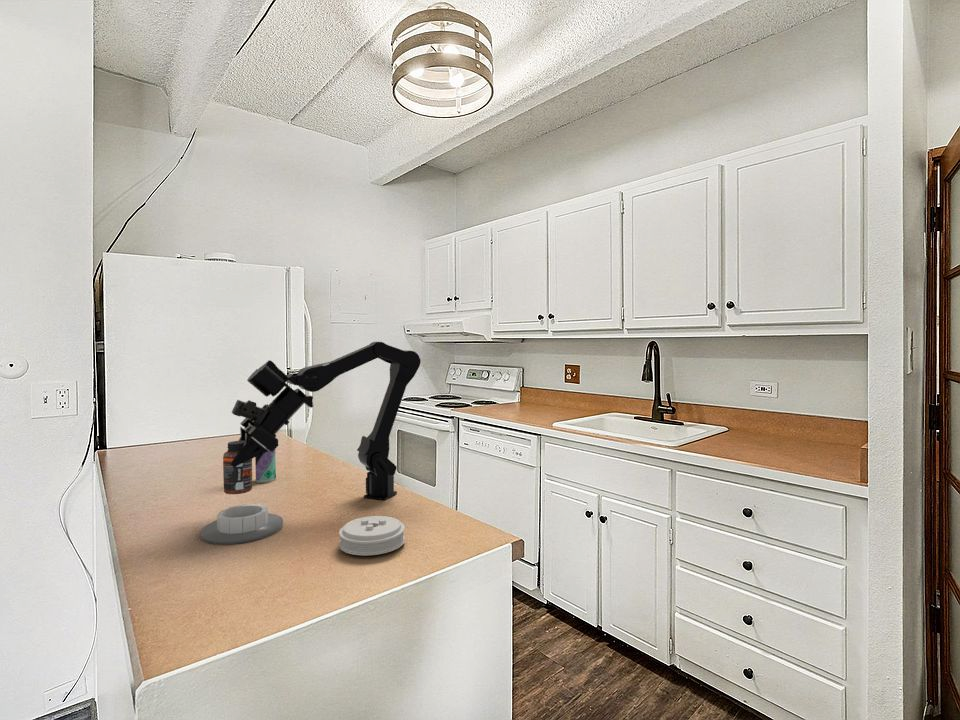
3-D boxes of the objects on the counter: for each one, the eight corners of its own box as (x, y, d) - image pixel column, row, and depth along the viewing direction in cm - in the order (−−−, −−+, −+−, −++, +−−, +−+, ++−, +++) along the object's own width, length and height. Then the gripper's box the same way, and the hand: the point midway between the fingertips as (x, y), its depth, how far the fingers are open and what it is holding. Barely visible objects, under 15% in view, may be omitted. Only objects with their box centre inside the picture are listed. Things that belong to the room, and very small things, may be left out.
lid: (350, 534, 106) (349, 511, 106) (409, 535, 106) (409, 511, 106) (330, 560, 94) (329, 533, 94) (398, 560, 93) (397, 534, 93)
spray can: (256, 483, 145) (255, 414, 144) (255, 479, 150) (253, 412, 149) (276, 481, 147) (275, 413, 147) (275, 477, 152) (273, 410, 152)
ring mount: (298, 521, 114) (298, 504, 114) (242, 549, 99) (242, 528, 99) (243, 513, 119) (243, 497, 119) (182, 538, 104) (182, 519, 104)
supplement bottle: (247, 494, 112) (246, 444, 112) (219, 495, 112) (217, 444, 111) (256, 487, 118) (255, 439, 118) (229, 488, 118) (228, 439, 117)
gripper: (248, 384, 124) (199, 434, 119) (260, 390, 108) (203, 447, 103) (283, 413, 128) (237, 462, 123) (299, 423, 113) (247, 480, 107)
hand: (230, 462), depth 114 cm, fingers closed on supplement bottle, 6 cm apart
